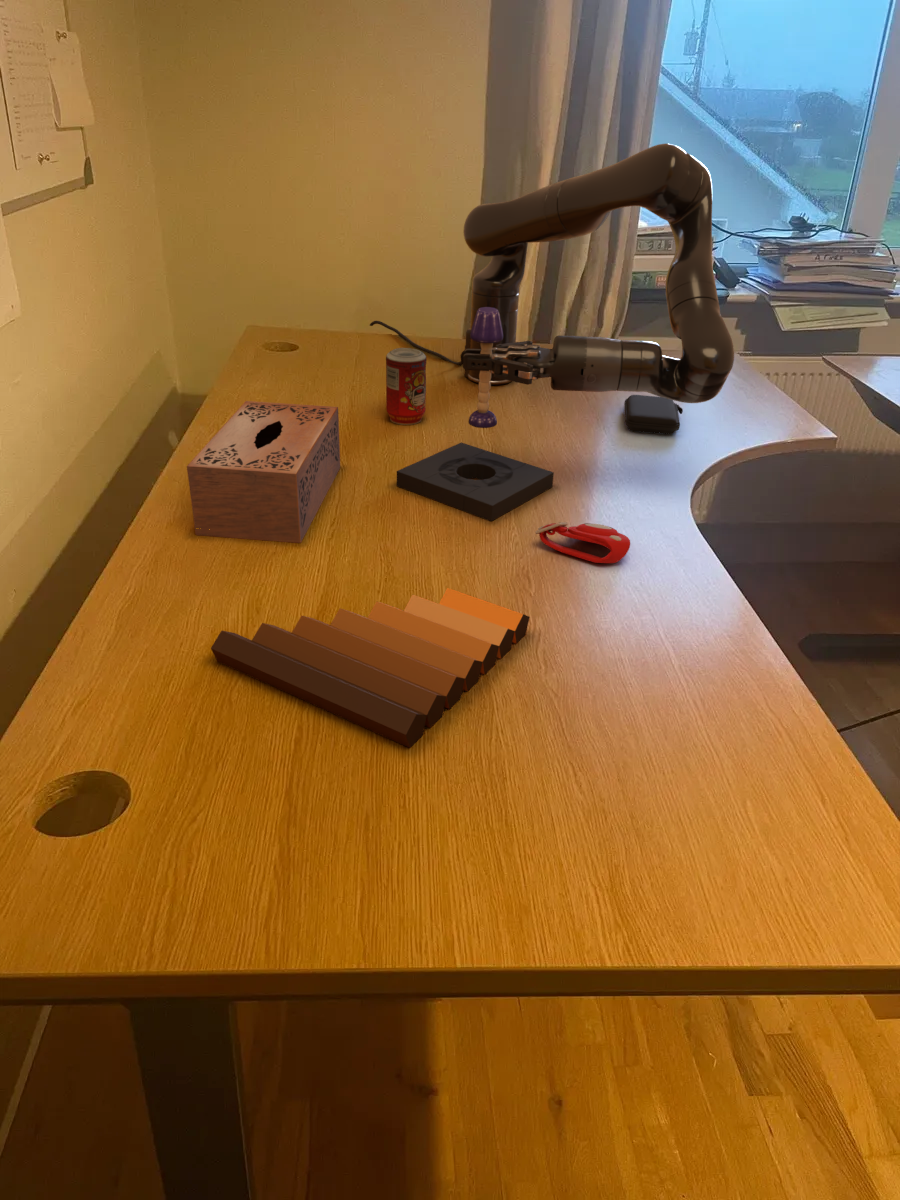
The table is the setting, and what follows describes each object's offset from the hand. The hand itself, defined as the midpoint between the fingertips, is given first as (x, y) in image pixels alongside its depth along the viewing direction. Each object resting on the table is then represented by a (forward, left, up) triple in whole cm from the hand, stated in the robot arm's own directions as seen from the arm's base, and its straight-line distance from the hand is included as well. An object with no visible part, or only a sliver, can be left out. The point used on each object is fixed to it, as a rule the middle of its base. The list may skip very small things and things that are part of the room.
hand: (464, 359), depth 127 cm
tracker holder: (+25, -5, -20) cm, 32 cm away
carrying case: (+9, +46, -20) cm, 51 cm away
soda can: (-25, +16, -20) cm, 36 cm away
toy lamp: (+3, +2, -10) cm, 10 cm away
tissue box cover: (-17, -22, -20) cm, 34 cm away
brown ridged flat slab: (+20, -41, -20) cm, 50 cm away
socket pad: (+2, +1, -19) cm, 20 cm away
